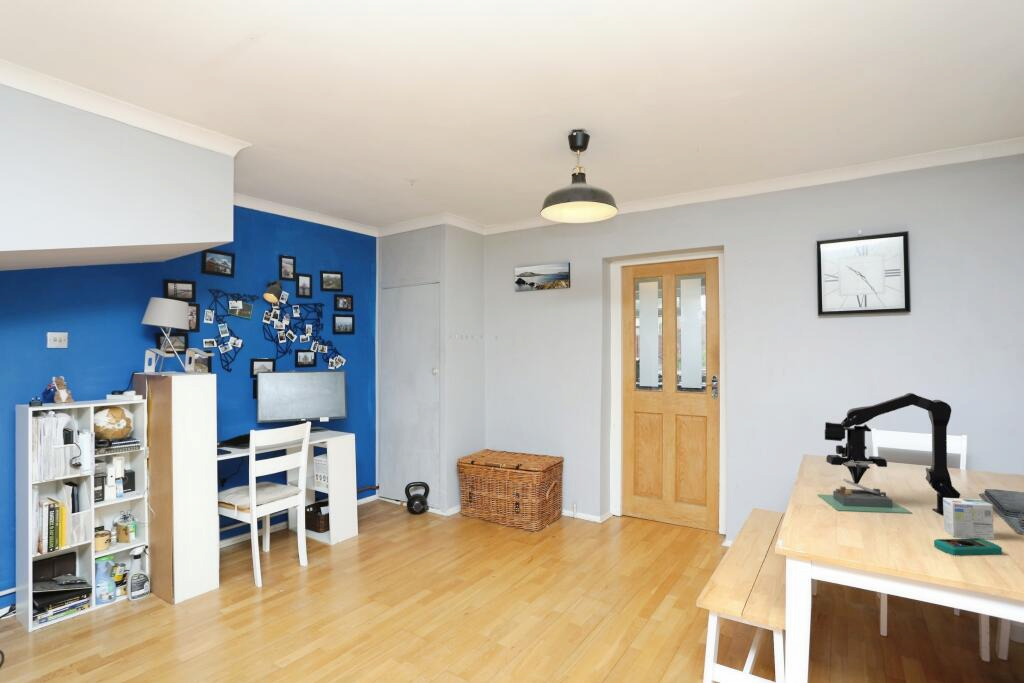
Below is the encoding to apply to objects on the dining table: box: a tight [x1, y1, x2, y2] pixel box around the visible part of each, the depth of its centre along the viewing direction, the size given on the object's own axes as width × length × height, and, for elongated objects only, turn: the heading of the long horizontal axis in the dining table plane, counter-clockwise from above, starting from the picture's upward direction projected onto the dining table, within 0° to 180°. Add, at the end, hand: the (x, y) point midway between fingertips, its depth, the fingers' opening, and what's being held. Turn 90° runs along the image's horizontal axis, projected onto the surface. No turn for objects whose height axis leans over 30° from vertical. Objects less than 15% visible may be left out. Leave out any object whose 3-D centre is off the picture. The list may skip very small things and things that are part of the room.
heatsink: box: [832, 486, 893, 508], centre depth 200 cm, size 10×16×5 cm, turn 79°
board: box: [817, 493, 913, 515], centre depth 200 cm, size 20×24×1 cm
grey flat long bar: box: [843, 478, 879, 495], centre depth 200 cm, size 3×12×1 cm, turn 78°
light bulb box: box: [943, 497, 995, 540], centre depth 167 cm, size 11×7×11 cm, turn 74°
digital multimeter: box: [933, 538, 1003, 556], centre depth 155 cm, size 7×15×3 cm, turn 90°
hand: (856, 483), depth 200 cm, fingers closed
